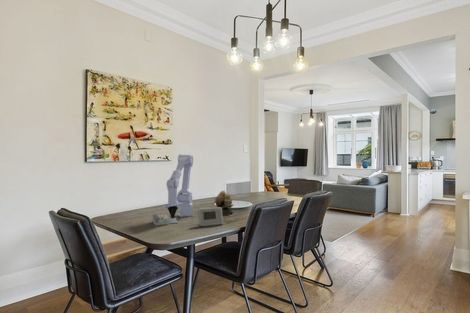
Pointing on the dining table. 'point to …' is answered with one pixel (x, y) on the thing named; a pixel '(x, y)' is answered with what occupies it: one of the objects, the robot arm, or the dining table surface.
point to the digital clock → (210, 216)
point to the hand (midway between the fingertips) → (172, 217)
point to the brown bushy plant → (224, 202)
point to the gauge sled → (163, 217)
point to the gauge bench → (163, 220)
